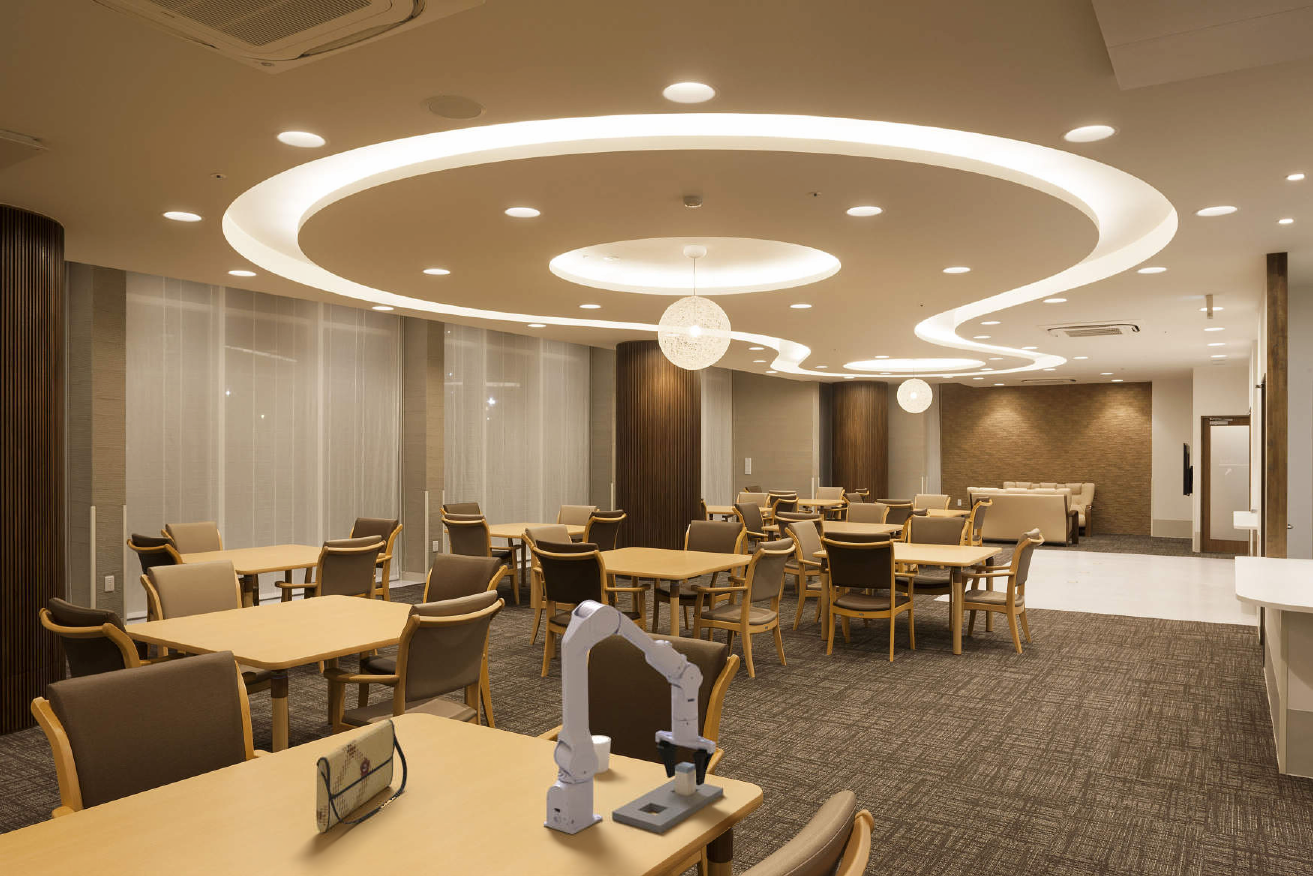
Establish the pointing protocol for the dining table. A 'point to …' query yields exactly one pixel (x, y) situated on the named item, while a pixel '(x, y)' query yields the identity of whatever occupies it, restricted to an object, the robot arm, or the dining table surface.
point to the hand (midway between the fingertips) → (685, 780)
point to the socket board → (665, 806)
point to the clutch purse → (356, 774)
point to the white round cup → (602, 751)
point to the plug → (685, 779)
